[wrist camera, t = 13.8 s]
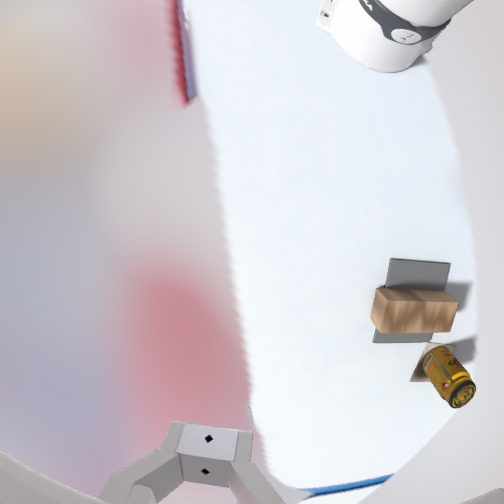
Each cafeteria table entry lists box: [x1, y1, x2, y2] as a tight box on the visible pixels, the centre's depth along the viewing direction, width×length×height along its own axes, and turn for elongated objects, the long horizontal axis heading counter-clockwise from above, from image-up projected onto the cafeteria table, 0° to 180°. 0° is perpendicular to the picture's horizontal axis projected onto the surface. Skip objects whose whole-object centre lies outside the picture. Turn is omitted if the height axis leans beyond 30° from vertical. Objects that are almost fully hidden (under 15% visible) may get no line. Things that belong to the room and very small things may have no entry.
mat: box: [373, 259, 449, 343], centre depth 45 cm, size 14×11×1 cm
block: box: [370, 288, 459, 333], centre depth 42 cm, size 5×5×13 cm
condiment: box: [409, 343, 476, 408], centre depth 42 cm, size 7×8×12 cm
